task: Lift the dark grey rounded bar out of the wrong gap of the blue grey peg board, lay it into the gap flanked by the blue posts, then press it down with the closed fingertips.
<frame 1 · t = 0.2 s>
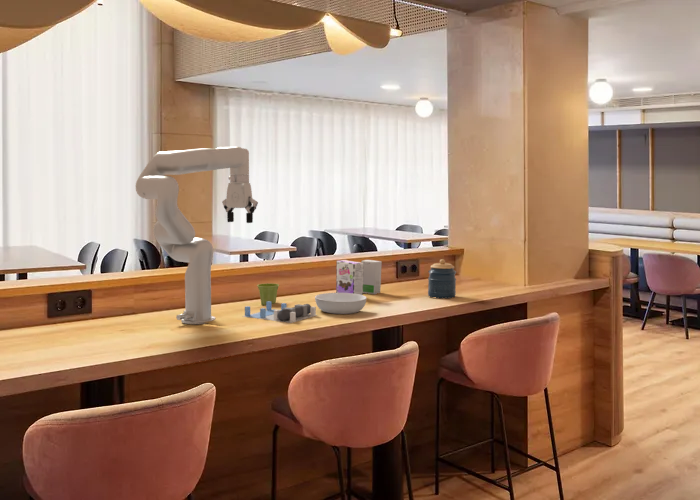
hand: (239, 222, 278), 36 cm above the bar counter, tool pointing down, fingers open, 9 cm apart
candy box: (349, 297, 322), on the bar counter
plant pot: (268, 305, 298), on the bar counter
blue grey peg board: (280, 318, 269), on the bar counter
serving bowl: (340, 313, 281), on the bar counter
dark grey rounded bar: (295, 317, 266), point 1 cm above the bar counter, touching blue grey peg board
canister: (441, 297, 324), on the bar counter
skincare box: (370, 293, 333), on the bar counter
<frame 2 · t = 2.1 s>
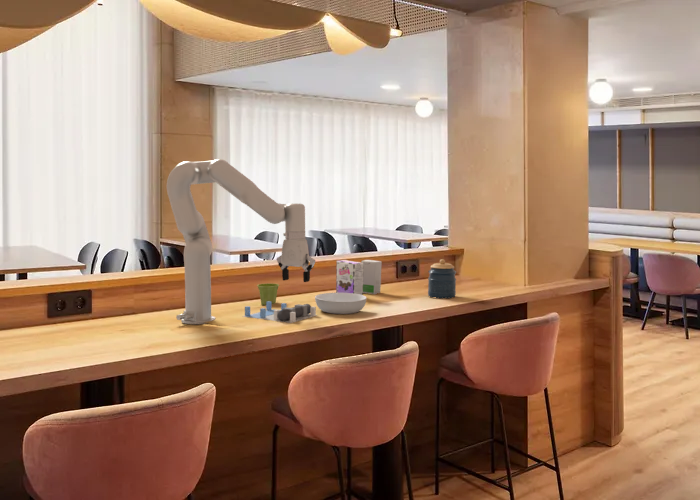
hand: (296, 280, 264), 15 cm above the bar counter, tool pointing down, fingers open, 9 cm apart
nothing on the bar counter moved.
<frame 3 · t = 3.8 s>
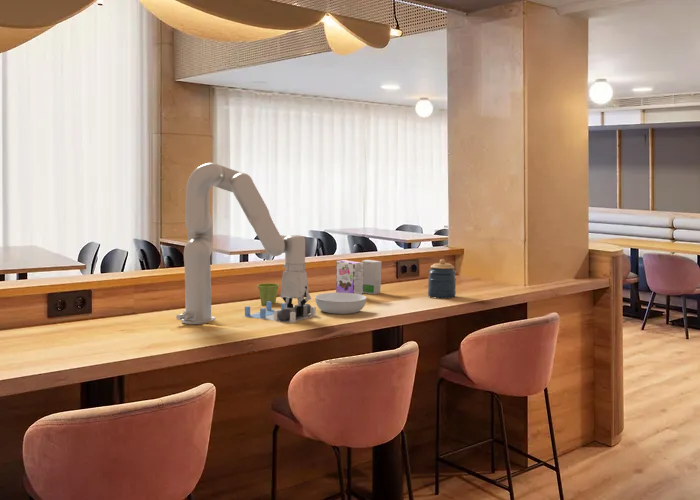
hand: (295, 314, 265), 2 cm above the bar counter, tool pointing down, fingers closed on dark grey rounded bar, 4 cm apart
dark grey rounded bar: (295, 317, 266), point 1 cm above the bar counter, touching blue grey peg board, gripper
everything else where it was.
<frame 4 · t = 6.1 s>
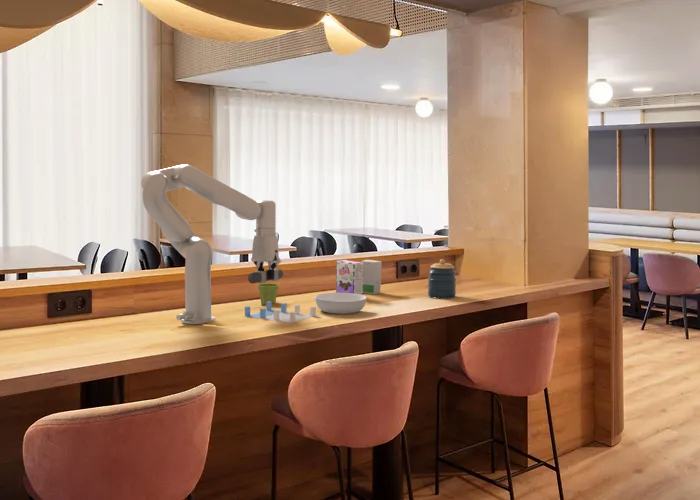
hand: (265, 278, 271), 15 cm above the bar counter, tool pointing down, fingers closed on dark grey rounded bar, 4 cm apart
dark grey rounded bar: (265, 281, 271), point 14 cm above the bar counter, touching gripper
everything else where it was.
when the fingers open (3 cm above the bar counter, at t = 8.6 s): dark grey rounded bar stays where it is, resting on blue grey peg board.
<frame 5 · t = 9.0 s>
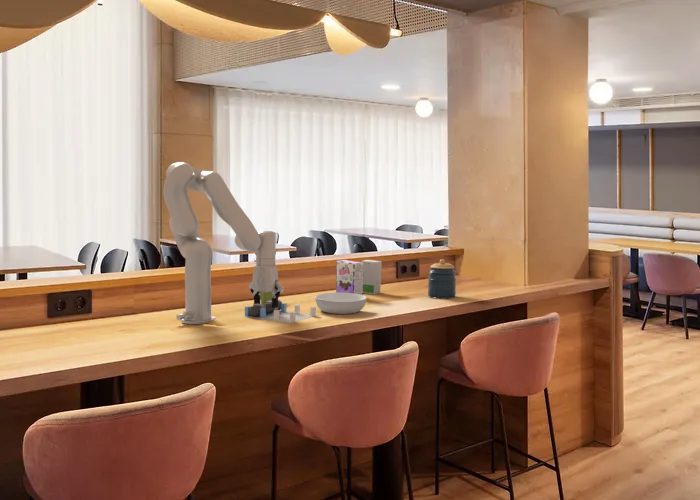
hand: (265, 306, 272), 4 cm above the bar counter, tool pointing down, fingers open, 8 cm apart
dark grey rounded bar: (265, 313, 273), point 1 cm above the bar counter, touching blue grey peg board
everything else where it was.
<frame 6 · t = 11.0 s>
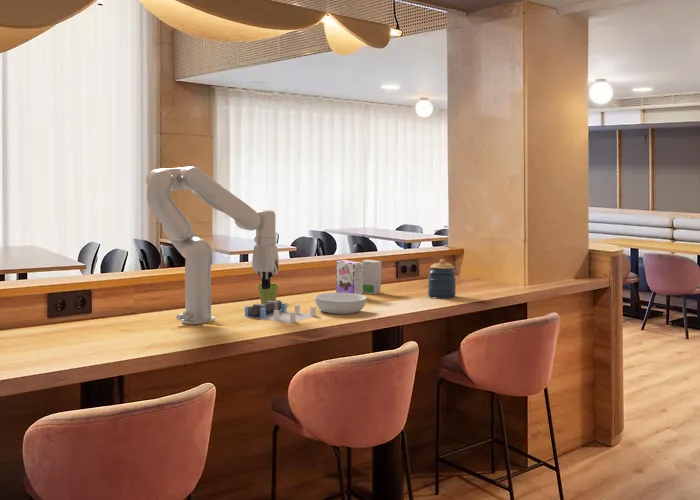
hand: (266, 288, 272), 11 cm above the bar counter, tool pointing down, fingers closed
nothing on the bar counter moved.
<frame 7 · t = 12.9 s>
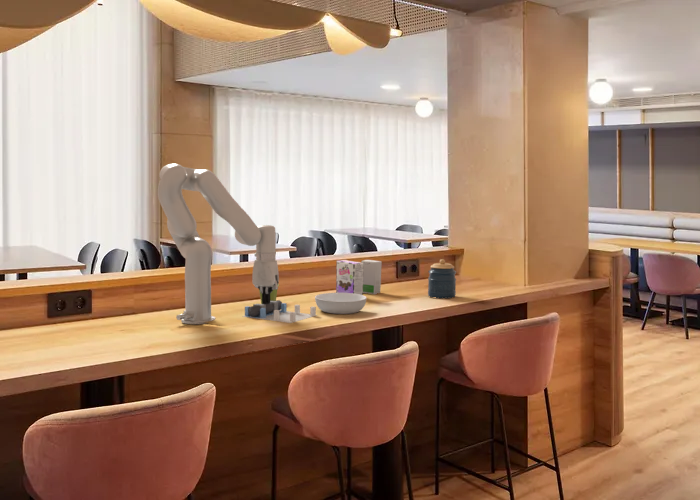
hand: (266, 303, 272), 5 cm above the bar counter, tool pointing down, fingers closed
dark grey rounded bar: (265, 313, 273), point 1 cm above the bar counter, touching blue grey peg board, gripper
everything else where it was.
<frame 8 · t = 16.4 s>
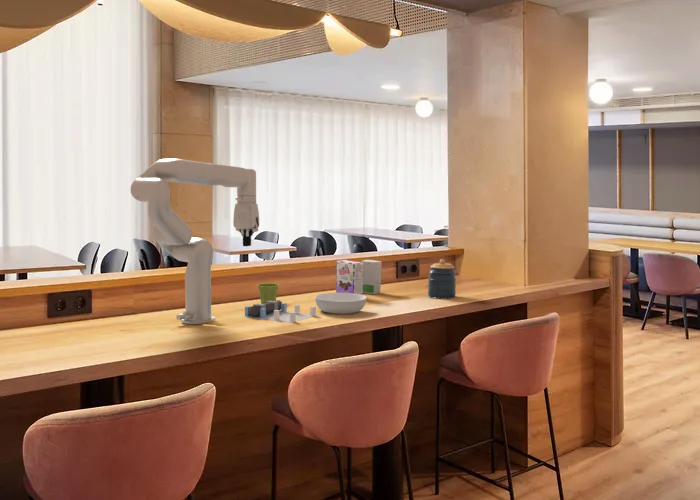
hand: (247, 245, 277), 27 cm above the bar counter, tool pointing down, fingers closed
dark grey rounded bar: (265, 313, 273), point 1 cm above the bar counter, touching blue grey peg board
everything else where it was.
at the end: dark grey rounded bar 0.0 cm from the target spot on the blue grey peg board, point 1.1 cm above the blue grey peg board's base; the gripper is holding nothing; dark grey rounded bar moved 14.0 cm from its start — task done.
